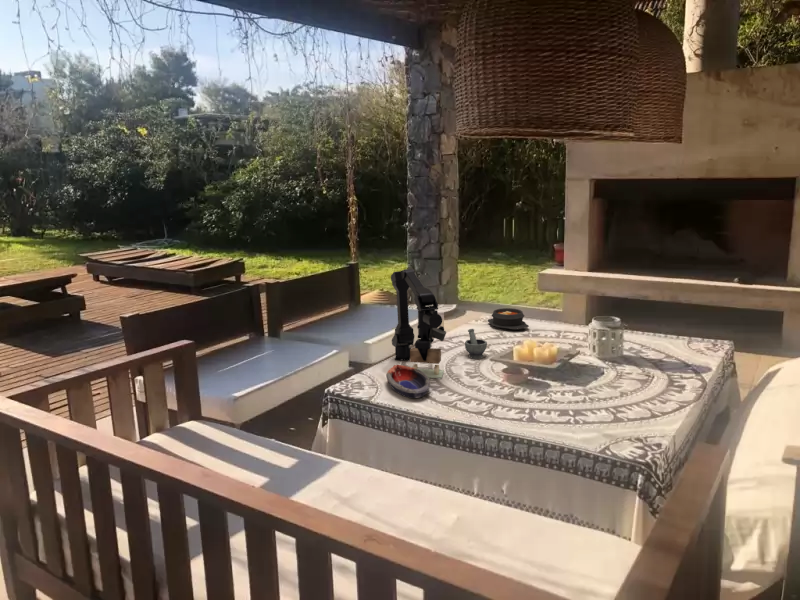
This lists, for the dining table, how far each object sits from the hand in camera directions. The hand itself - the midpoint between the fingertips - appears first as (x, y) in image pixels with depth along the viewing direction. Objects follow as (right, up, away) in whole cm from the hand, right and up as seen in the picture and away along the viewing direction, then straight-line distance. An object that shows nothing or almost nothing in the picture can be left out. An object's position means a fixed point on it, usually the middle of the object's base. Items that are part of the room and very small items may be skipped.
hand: (425, 358), depth 266 cm
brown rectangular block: (0, -1, 0) cm, 1 cm away
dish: (-7, -10, -13) cm, 18 cm away
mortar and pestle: (+23, -1, +24) cm, 34 cm away
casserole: (+46, +10, +73) cm, 87 cm away
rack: (0, -7, +1) cm, 7 cm away
